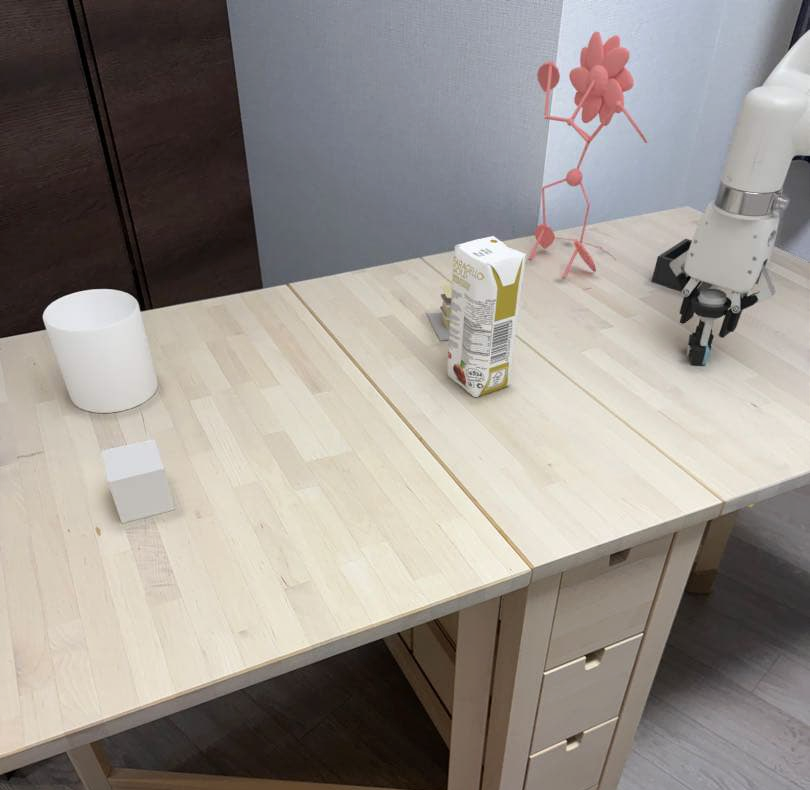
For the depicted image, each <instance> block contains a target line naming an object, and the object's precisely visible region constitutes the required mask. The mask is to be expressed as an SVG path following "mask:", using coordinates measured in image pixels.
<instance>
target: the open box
mask: <svg viewBox="0 0 810 790" xmlns="http://www.w3.org/2000/svg"><path fill="white" fill-rule="evenodd" d="M692 240H693V239H688V238H684V239H682V240H681V241H679V242H678V243H676V244H675V245H673V246H672V247H670V248H669V249H667V250H665V251H664V252H662V253H661V254H659V255H658V256H657V258H656V262H655V266H654V269H653V274H652V276H651V277H652V278H651V283H653V284H654V283H655V284H657V285H660V286H663V287H667V288H670V289H673V290H676V291H679V292H682V288H681V286H680V284H679V282H678V280H677V276H676V275H675V274H674V272H673V271H672V269H671V267H670V262H672V261H673V260H674V259H676V258H677V257H679V256H680V255H682V254H683V253H685V252H686V251H687V250H689V248H690V245H691V242H692ZM684 265H685V264H684ZM712 286H713V285H712V284H709V283H706V282H702V283H701V285H700V286H699V288H698V291H699V293H700V292H701V291H702V290H704V289H710V287H712Z"/></svg>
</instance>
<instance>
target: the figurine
mask: <svg viewBox="0 0 810 790" xmlns="http://www.w3.org/2000/svg"><path fill="white" fill-rule="evenodd" d="M579 57H580V58H579V63H580V66H578V67H573V68H571V70H570V72H569V74H568V76H569V81H570V83H571V85H572V87H573V88H574V89H575V91H576V92H575V95H574V99H573V100H574V102H573V103H574V105H576V106H577V107H576V109H575V110H574V112H573V114H572V115H571V117H569V118H566V117H561V116H560V117H559V116H552V115H548V113H549V103H550V94H551V93H550V92H551V90H553V89H555V88H556V87H557V85H558V84H559V82H560V77H561V76H560V75H561V74H560V71H559V67H558V66H557V65H556V64H555V62H554V61H553V60H549V61H547V62H543V63H542V64H541V65H540V66H539V68H538V70H537V72H536V73H537V74H536V76H537V82H538V84H539V86H540V87H541V89H542V91H543V93H545V104H544V113H543V115H544V120H550V121H555V122H563V123H566V124H567V126H571V127H572V128H573V129H574V130H575V131H576V132H577V133H578V134H579V136H581V138H582V139H583V140H584V141H585V142H586V143H585V145H584V148H583V150H582V153H581V156H580V158H579V161H578V164H577V166H576V168H572V169H570V170H569V171H568V172H567V174H566V177H565V178H563V179H560V180H557V181H554V182H552V183H549V184H546V185H544V186H542V188H541V198H542V199H541V201H542V219H543V220H542V221H543V222H542V223H540V224H538V225H537V227H536V228H535V229H534V238H535V240H536V242H535V244H534V246H533V248H532V250H531V252H530V255H529V256H528V260H532V259H533V257H534V255H535V253H536V251H537V248H538V246H541V247H542V248H543V250H546V249H547V248H549V247H550V246H552V245H553V243H554V241H555V239H558V240H566V241H567V240H568V241H572V242H573V241H574V242H573V244H574V247H575V249H574V251H573V253H572V256H571V257H570V259H569V262H568V264H567V266H566V268H565V270H564V272H563V273H562V278H564V279H566V277H567V275H568V273H569V271H570V270H571V269H570V268H571V266H572V264H573V263H574V260H575V258H576V256H577V254H578V255H579V256H580V257H581V259H582V260H583V262H584V263H585V264H586V265H587V266H588V267H589V269H590V270H591V271H592V272H593V273H596V272H597V269H596V264H595V262H594V260H593V257H592V256H591V254H590V253H589V251H588V250H587V249H586V248H585V246H584V244H585V245H588V246H591V247H595V248H597V249H599V250H601V251H602V252H605V253H607V254H608V255H609V256H611V258H613V259H614V260H615V261H617V259H616V258H615V257H614V256H613V255H612V254H610V253H609V252H608V251H606V250H605V249H604V248H603V247H602V246H599V245H594V244H590V243H588V242H585V241H583V239H584V234H585V230H586V225H587V221H588V217H589V212H590V207H591V205H590V201H589V197H588V196H587V193H586V189H585V187H584V184H583V182H582V181H583V173H582V171H581V170H580V167H581V165H582V163H583V160H584V158H585V155H586V153H587V150H588V148H589V146H590V143H591V142H592V141H593V140H594V138H595V137H596V136H597V135H598V133H600V131H601V130H602V129H603V128H604V126H605V127H608V126H609V124H610V122H611V121H612V120H613V119H612V118H613V116H614V115H615V113H616V114H621V113H622V112H623V114H624V115H625V116H626V118H627V120H628V121H629V122H630V124H631V125H632V126H633V128H634V129H635V131H636V132H637V134H638V135H639V136H640V138H641V139H642V141H643V142H644V143H645V144H648V140H647V139H646V138H645V136H644V134H643V133H642V131H641V130H640V128H639V127H638V125H637V123H636V122H635V121H634V119H633V118H632V116H631V115H630V114H629V112H628V111H627V109H626V108H625V107H624V106H625V97H624V92H628V91H630V90H632V89H633V87H634V85H635V82H634V77H633V75H632V73H631V72H630V71H629V70H628V69H627V67H626V65H627V63H628V62H629V60H630V57H631V56H630V51H629V49H628V48H627V47H623V46H621V37H620V36H619V35H618V34H614V35H612V36H611V37H609V38H608V39H607V40H606V41H605V42H604V43H603V39H602V36H601V34H600V31H594V32H593V33H592V35H591V37H590V39H589V41H588V44H587V46H583V47H582V48H581V52H580V56H579ZM580 110H581V121H582V123H583V124H588V123H590V122H592V121H593V120H594V119H595V118H596V117H597V116H598V118H599V122H600V124H599V126H598V127H596V129H595V130H594V132H593V133H592V134H591V135H589V134H588V132H586V131H585V130H583V129H582V128H581V127H579V126H578V125H577V124H576V123H575V119H576V117H577V116H578V114H579V112H580ZM564 182H566V184H567V185H569V186H570V187H577V186H580V188H581V190H582V191H581V192H582V193H583V196H584V199H585V202H586V204H587V207H586V212H585V217H584V222H583V226H582V230H581V236H580V240H579V239H577V238H573V239H572V237H571V238H570V237H569V238H562V237H556V236H555V232H554V231H553V229H552V227H551V226H549V225H548V224H547V223H546V202H545V201H546V200H545V198H546V197H545V189H547V188H551V187H553V186H555V185H558V184H561V183H564ZM592 288H593V287H588V288H583V289H582V291H585V290H586V291H587V290H590V289H592Z"/></svg>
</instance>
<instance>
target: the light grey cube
mask: <svg viewBox="0 0 810 790" xmlns="http://www.w3.org/2000/svg"><path fill="white" fill-rule="evenodd" d="M100 455H101V459H102V464H103V467H104V471H105V477H106V480H107V484H108V487H109V489H110V492H111V496H112V499H113V502H114V504H115V507H116V510H117V513H118V516H119V519H120V522H121V524H125V523H129V522H133V521H136V520H140V519H141V520H142V519H144V518H148V517H152V516H156V515H161V514H164V513H168V512H172V511H176V507H175V503H174V500H173V496H172V492H171V488H170V485H169V481H168V477H167V474H166V468H165V466H164V463H163V461H162V458H161V454H160V451H159V447H158V445H157V443H156V439H155V438H152V439H147V440H144V441H138V442H134V443H130V444H126V445H121V446H116V447H111V448H108V449H104V450H100Z"/></svg>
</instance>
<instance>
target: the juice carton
mask: <svg viewBox="0 0 810 790" xmlns="http://www.w3.org/2000/svg"><path fill="white" fill-rule="evenodd" d="M453 254H454V255H453V264H452V266H453V268H452V279H451V280H452V281H451V282H452V283H451V285H452V295H451V312H450V330H449V340H448V347H447V349H448V350H447V376H448V377H449V378H450V379H451V380H452V381H453V382H455V383H456V384H457V385H459V386H460V387H461V388H463V389H464V390H465V391H466V392H467V393H468V394H470V395H471V396H472V397H473V398H478V397H481V396H484V395H487V394H491V393H493V392H496V391H499V390H502V389H504V388H507V387H509V386H510V383H511V378H512V370H513V361H514V354H515V346H516V338H517V330H518V321H519V315H520V306H521V298H522V290H523V284H524V275H525V266H526V258H527V253H524V252H521V251H519V250H517V249H515V248H511V247H508V245H506V244H505V243H504V242H502V241H501V240H500V239H498V238H497V237H495V236H494V235H492V236H491V235H490V236H486V237H482V238H478V239H473V240H469V241H466V242H463V243H458V244H456V245H454V253H453Z"/></svg>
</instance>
